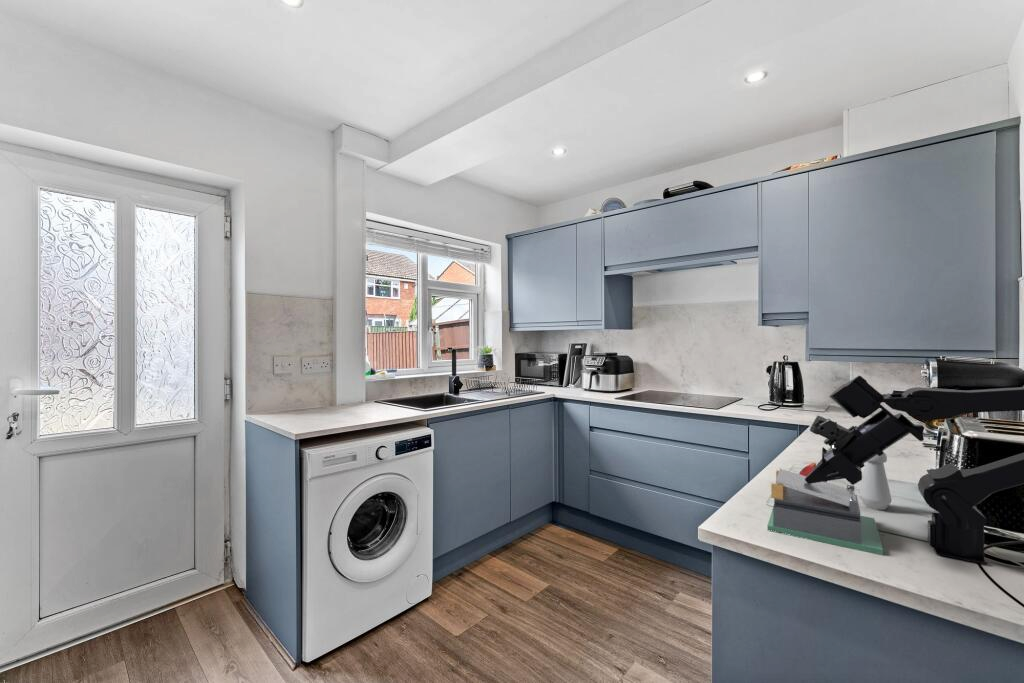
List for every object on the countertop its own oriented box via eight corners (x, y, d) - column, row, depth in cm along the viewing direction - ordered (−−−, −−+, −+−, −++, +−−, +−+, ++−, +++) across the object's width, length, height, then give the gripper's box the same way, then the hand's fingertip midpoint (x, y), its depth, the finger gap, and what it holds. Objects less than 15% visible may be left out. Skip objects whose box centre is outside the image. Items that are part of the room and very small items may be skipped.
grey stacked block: (856, 515, 94) (856, 479, 94) (861, 544, 81) (861, 502, 81) (777, 501, 102) (777, 468, 102) (770, 525, 89) (770, 487, 89)
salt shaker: (897, 512, 98) (897, 454, 98) (868, 510, 99) (868, 453, 99) (881, 503, 104) (881, 448, 104) (853, 501, 105) (853, 447, 105)
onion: (801, 496, 108) (801, 464, 108) (796, 489, 114) (796, 458, 114) (829, 499, 106) (829, 466, 106) (823, 491, 111) (822, 460, 111)
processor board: (874, 522, 92) (874, 518, 92) (882, 555, 79) (882, 549, 79) (775, 504, 103) (775, 500, 103) (767, 530, 89) (767, 525, 89)
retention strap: (853, 495, 92) (855, 489, 91) (856, 509, 84) (858, 504, 84) (779, 472, 99) (780, 467, 99) (775, 484, 91) (776, 478, 91)
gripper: (836, 399, 97) (778, 442, 103) (839, 410, 82) (770, 460, 88) (883, 439, 92) (819, 481, 99) (895, 459, 77) (818, 507, 83)
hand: (806, 481), depth 92 cm, fingers closed, pressing on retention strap
